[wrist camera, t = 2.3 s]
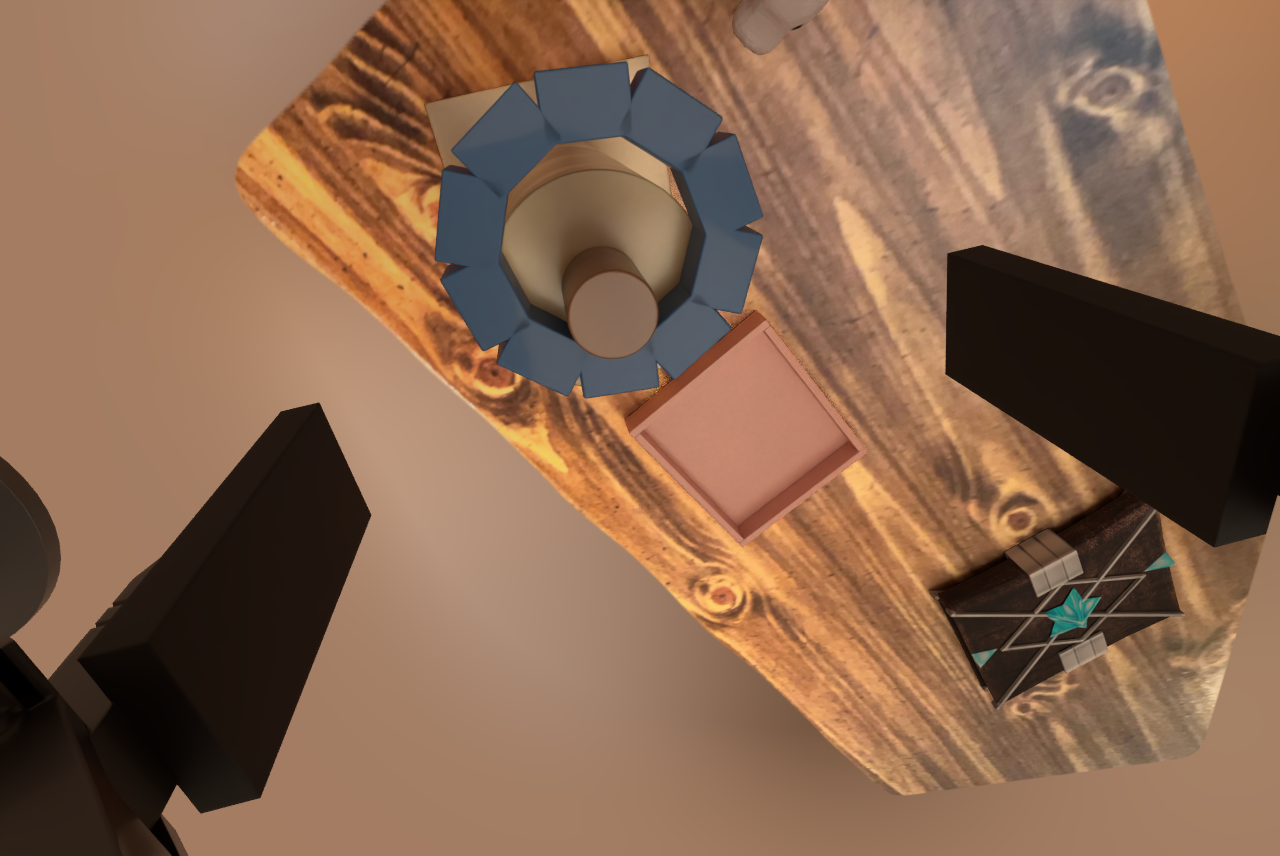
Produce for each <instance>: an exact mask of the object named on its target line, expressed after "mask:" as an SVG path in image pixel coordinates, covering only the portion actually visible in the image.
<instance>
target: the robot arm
mask: <svg viewBox="0 0 1280 856" xmlns="http://www.w3.org/2000/svg"><path fill="white" fill-rule="evenodd" d="M945 374H946V375H948V376H949V377H951V378H952V379H954V380H955V381H957V382H958V383H960V384H961V385H963V386H965V387H966V388H968V389H969V390H971V391H972V392H974V393H975V394H977V395H979V396H980V397H982V398H983V399H985V400H986V401H988V402H989V403H991V404H992V405H994V406H996V407H997V408H999V409H1000V410H1002V411H1003V412H1005V413H1006V414H1008V415H1010V416H1011V417H1013V418H1014V419H1016V420H1017V421H1019V422H1020V423H1022V424H1023V425H1025V426H1027V427H1028V428H1030V429H1031V430H1033V431H1034V432H1036V433H1037V434H1039V435H1041V436H1042V437H1044V438H1045V439H1047V440H1048V441H1050V442H1051V443H1053V444H1054V445H1056V446H1058V447H1059V448H1061V449H1062V450H1064V451H1065V452H1067V453H1068V454H1070V455H1071V456H1073V457H1075V458H1076V459H1078V460H1079V461H1081V462H1082V463H1084V464H1085V465H1087V466H1089V467H1090V468H1092V469H1093V470H1095V471H1096V472H1098V473H1099V474H1101V475H1102V476H1104V477H1106V478H1107V479H1109V480H1110V481H1112V482H1113V483H1115V484H1116V485H1118V486H1120V487H1121V488H1123V489H1124V490H1126V491H1127V492H1129V493H1130V494H1132V495H1133V496H1135V497H1137V498H1138V499H1140V500H1141V501H1143V502H1144V503H1146V504H1147V505H1149V506H1151V507H1152V508H1154V509H1155V510H1157V511H1158V512H1160V513H1161V514H1163V515H1164V516H1166V517H1168V518H1169V519H1171V520H1172V521H1174V522H1175V523H1177V524H1178V525H1180V526H1182V527H1183V528H1185V529H1186V530H1188V531H1189V532H1191V533H1192V534H1194V535H1195V536H1197V537H1199V538H1200V539H1202V540H1203V541H1205V542H1206V543H1208V544H1209V545H1211V546H1213V547H1218V546H1222V545H1225V544H1229V543H1233V542H1237V541H1241V540H1245V539H1248V538H1252V537H1256V536H1260V535H1264V534H1266V532H1267V529H1268V525H1269V522H1270V518H1271V515H1272V512H1273V508H1274V505H1275V501H1276V498H1277V495H1279V496H1280V336H1278V335H1275V334H1271V333H1268V332H1265V331H1262V330H1258V329H1255V328H1252V327H1249V326H1245V325H1242V324H1239V323H1236V322H1232V321H1229V320H1226V319H1222V318H1219V317H1216V316H1213V315H1209V314H1206V313H1203V312H1200V311H1196V310H1193V309H1190V308H1187V307H1183V306H1180V305H1177V304H1173V303H1170V302H1167V301H1164V300H1160V299H1157V298H1154V297H1151V296H1147V295H1144V294H1141V293H1138V292H1134V291H1131V290H1128V289H1124V288H1121V287H1118V286H1115V285H1111V284H1108V283H1105V282H1102V281H1098V280H1095V279H1092V278H1088V277H1085V276H1082V275H1079V274H1075V273H1072V272H1069V271H1066V270H1062V269H1059V268H1056V267H1053V266H1049V265H1046V264H1043V263H1039V262H1036V261H1033V260H1030V259H1026V258H1023V257H1020V256H1017V255H1013V254H1010V253H1007V252H1004V251H1000V250H997V249H994V248H990V247H987V246H984V245H981V246H976V247H972V248H968V249H964V250H960V251H955V252H951V253H947V312H946V372H945ZM370 517H371V513H370V511H369V509H368V507H367V505H366V503H365V500H364V498H363V496H362V494H361V492H360V490H359V487H358V485H357V483H356V481H355V479H354V477H353V475H352V472H351V470H350V468H349V466H348V464H347V461H346V459H345V457H344V455H343V453H342V451H341V448H340V447H339V444H338V442H337V440H336V438H335V435H334V433H333V431H332V429H331V427H330V425H329V422H328V420H327V418H326V416H325V414H324V412H323V409H322V407H321V405H320V403H315V404H311V405H306V406H302V407H298V408H294V409H290V410H285V411H282V412H280V413H279V415H278V416H277V417H276V418H275V419H274V421H273V422H272V423H271V424H270V425H269V427H268V428H267V429H266V430H265V432H264V433H263V434H262V435H261V437H260V438H259V439H258V440H257V441H256V442H255V444H254V445H253V446H252V447H251V449H250V450H249V451H248V452H247V453H246V455H245V456H244V457H243V458H242V459H241V461H240V462H239V463H238V464H237V466H236V467H235V468H234V469H233V471H232V472H231V473H230V474H229V475H228V477H227V478H226V479H225V480H224V481H223V483H222V484H221V485H220V486H219V487H218V489H217V490H216V491H215V492H214V493H213V495H212V496H211V497H210V498H209V500H208V501H207V502H206V503H205V504H204V506H203V507H202V508H201V509H200V511H199V512H198V513H197V514H196V515H195V517H194V518H193V519H192V520H191V522H190V523H189V524H188V525H187V526H186V528H185V529H184V530H183V531H182V533H181V534H180V535H179V536H178V537H177V538H176V540H175V541H174V542H173V543H172V545H171V546H170V547H169V548H168V549H167V551H166V552H165V553H164V554H163V555H162V557H161V558H159V559H158V560H157V561H156V562H154V563H153V564H152V565H150V566H149V567H148V568H147V569H145V570H144V571H143V572H141V573H140V574H139V575H138V576H136V577H135V578H134V579H133V580H132V581H131V582H130V583H129V584H128V586H127V587H126V588H125V589H124V590H123V592H122V593H121V594H120V595H119V596H118V597H117V599H116V600H115V601H114V602H113V607H111V608H108V609H107V611H106V612H105V613H104V614H103V615H102V616H101V618H100V619H99V620H98V621H97V622H96V623H95V624H96V628H93V629H90V631H89V632H88V633H87V634H86V635H85V637H84V638H83V639H82V640H81V641H80V642H79V644H78V645H77V646H76V647H75V648H74V650H73V651H72V652H71V653H70V654H69V656H68V657H67V658H66V659H65V660H64V661H63V663H62V664H61V665H60V666H59V667H58V668H57V670H56V671H55V672H54V673H53V674H52V676H51V677H50V678H49V679H48V680H47V678H46V677H45V676H44V675H43V674H42V673H41V671H40V670H39V669H38V668H37V667H36V666H35V664H34V663H33V662H32V661H31V660H30V659H29V657H28V656H27V655H26V654H25V652H24V651H23V650H22V649H21V648H20V647H19V645H18V644H17V643H16V642H15V641H14V640H13V639H11V638H10V637H9V636H7V635H0V856H188V854H187V852H186V850H185V848H184V846H183V844H182V842H181V840H180V838H179V836H178V834H177V832H176V830H175V829H174V828H173V827H172V826H171V824H170V823H169V822H168V821H167V820H166V819H165V817H164V816H163V815H162V812H163V810H164V808H165V806H166V804H167V802H168V800H169V798H170V797H171V795H172V792H173V791H174V789H175V787H176V785H178V786H179V787H180V788H181V790H182V791H183V792H184V793H185V795H186V796H187V797H188V798H189V800H190V801H191V802H192V803H193V804H194V806H195V807H196V808H197V810H198V811H199V812H200V813H204V812H209V811H212V810H216V809H220V808H223V807H227V806H231V805H235V804H239V803H243V802H246V801H250V800H254V799H258V798H260V797H261V795H262V792H263V790H264V787H265V785H266V782H267V780H268V777H269V775H270V772H271V769H272V767H273V764H274V762H275V759H276V757H277V754H278V752H279V749H280V747H281V744H282V741H283V739H284V736H285V734H286V731H287V729H288V726H289V724H290V721H291V719H292V716H293V713H294V711H295V708H296V706H297V703H298V701H299V698H300V696H301V693H302V691H303V688H304V685H305V683H306V680H307V678H308V675H309V673H310V670H311V667H312V665H313V662H314V660H315V657H316V655H317V652H318V650H319V647H320V645H321V642H322V640H323V637H324V634H325V632H326V629H327V627H328V624H329V622H330V619H331V616H332V614H333V611H334V609H335V606H336V603H337V601H338V599H339V596H340V594H341V591H342V588H343V586H344V584H345V581H346V578H347V576H348V573H349V570H350V568H351V566H352V563H353V561H354V558H355V555H356V553H357V550H358V548H359V545H360V543H361V540H362V538H363V535H364V533H365V530H366V527H367V525H368V522H369V520H370Z"/></svg>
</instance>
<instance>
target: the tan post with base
mask: <svg viewBox="0 0 1280 856" xmlns="http://www.w3.org/2000/svg"><path fill="white" fill-rule="evenodd" d="M623 61H626V62H628V68H629V78H630V84H631V82H632V80H633V78H634V76H635V74H636V72H637V71H638V70H641V69H643V68H646V67H649V68H651V66H650V60H649V55H643V56H638V57H633V58H629V59H624V60H620V61H615V62H623ZM611 63H614V62H611ZM518 84H519V85H520V87H521V88H522V89H523V90H524V91H525V92H526V93H527V95H528V96H529V97H530V98H531V99H532V100H533V101H534V103H535V104H536V105H537V106H538V103H537V97H536V90H535V84H534V79H533V80H528V81H524V82H519V83H518ZM511 85H512V84H510V85H506V86H501V87H496V88H492V89H487V90H483V91H478V92H474V93H469V94H464V95H460V96H455V97H451V98H446V99H442V100H437V101H432V102H428V103H425V104H424V105H425V109H426V112H427V115H428V118H429V121H430V125H431V128H432V131H433V134H434V138H435V141H436V144H437V147H438V150H439V154H440V157H441V160H442V163H443V166H444V168H446V167H447V166H449V165H455V166H460V167H465V168H467V167H466V166H465V165H464V164H463V163H462V162H461V161H460V160H459V159H458V158H457V157H456V156H455V155H454V154H453V153H452V152H451V149H452V148H453V147H454V146H455V145H456V144H457V143H458V141H459V140H460V139H461V138H462V137H463V136H464V135H465V134H466V133H467V132H468V131H469V130H470V129H471V128H472V126H473V125H474V124H475V123H476V122H477V121H478V120H479V119H480V118H481V117H482V116H483V115H484V114H485V113H486V111H487V110H488V109H489V108H490V107H491V106H492V105H493V104H494V103H495V102H496V101H497V100H498V99H499V97H500V96H501V95H502V94H503V93H504V92H505V91H506V90H507V89H508V88H509V87H510V86H511ZM692 226H693V225H692V222H691V220H690V217H689V215H688V214H687V212H686V211H685V209H684V208H683V207H682V206H681V205H680V204H679V203H678V202H677V200H676V199H675V198H674V197H672V193H671V187H670V181H669V175H668V169H667V165H665V164H664V163H662V162H661V161H659V160H657V159H656V158H654V157H653V156H651V155H649V154H648V153H646V152H645V151H643V150H641V149H640V148H638V147H637V146H635V145H633V144H632V143H630V142H629V141H627V140H625V139H624V138H622V137H615V138H606V139H598V140H590V141H582V142H573V143H565V144H557V145H555V146H554V147H553V148H552V149H551V150H550V151H549V152H548V153H547V154H546V155H545V156H544V158H543V159H542V160H541V161H540V162H539V163H538V164H537V165H536V166H535V167H534V168H533V169H532V170H531V171H530V172H529V173H528V174H527V175H526V176H525V177H524V178H523V179H522V180H521V181H520V182H519V183H518V184H517V185H516V186H515V187H514V188H513V189H512V190H511V191H510V192H509V196H508V204H507V212H506V220H505V228H504V236H503V244H502V252H503V254H504V256H505V258H506V259H507V261H508V263H509V265H510V267H511V269H512V271H513V272H514V274H515V276H516V278H517V280H518V282H519V284H520V285H521V287H522V289H523V291H524V293H525V295H526V296H527V298H528V300H529V302H530V304H532V305H534V306H536V307H538V308H540V309H542V310H544V311H546V312H548V313H550V314H552V315H554V316H556V317H558V318H560V319H562V320H564V321H566V322H568V327H569V330H570V333H571V335H572V337H573V338H574V340H575V341H576V343H577V344H578V345H579V346H580V347H581V348H582V349H584V350H585V351H586V352H588V353H590V354H592V355H594V356H596V357H599V358H604V359H619V358H624V357H627V356H630V355H632V354H634V353H636V352H637V351H639V350H640V349H642V348H643V347H644V346H645V345H646V344H647V343H648V342H649V340H650V339H651V337H652V336H653V334H654V332H655V330H656V327H657V323H658V318H659V309H658V302H659V301H660V300H661V299H662V298H663V297H664V296H665V295H666V294H668V293H669V292H670V291H671V290H672V289H673V288H674V287H675V286H676V285H677V284H678V283H679V281H680V277H681V273H682V268H683V264H684V260H685V256H686V251H687V247H688V243H689V239H690V234H691V230H692ZM657 366H658V369H660V368H661V366H660V365H659V364H658V363H657ZM575 385H577V386H581V381H580V376H579V378H578V380H577V381H576V383H575Z"/></svg>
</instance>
